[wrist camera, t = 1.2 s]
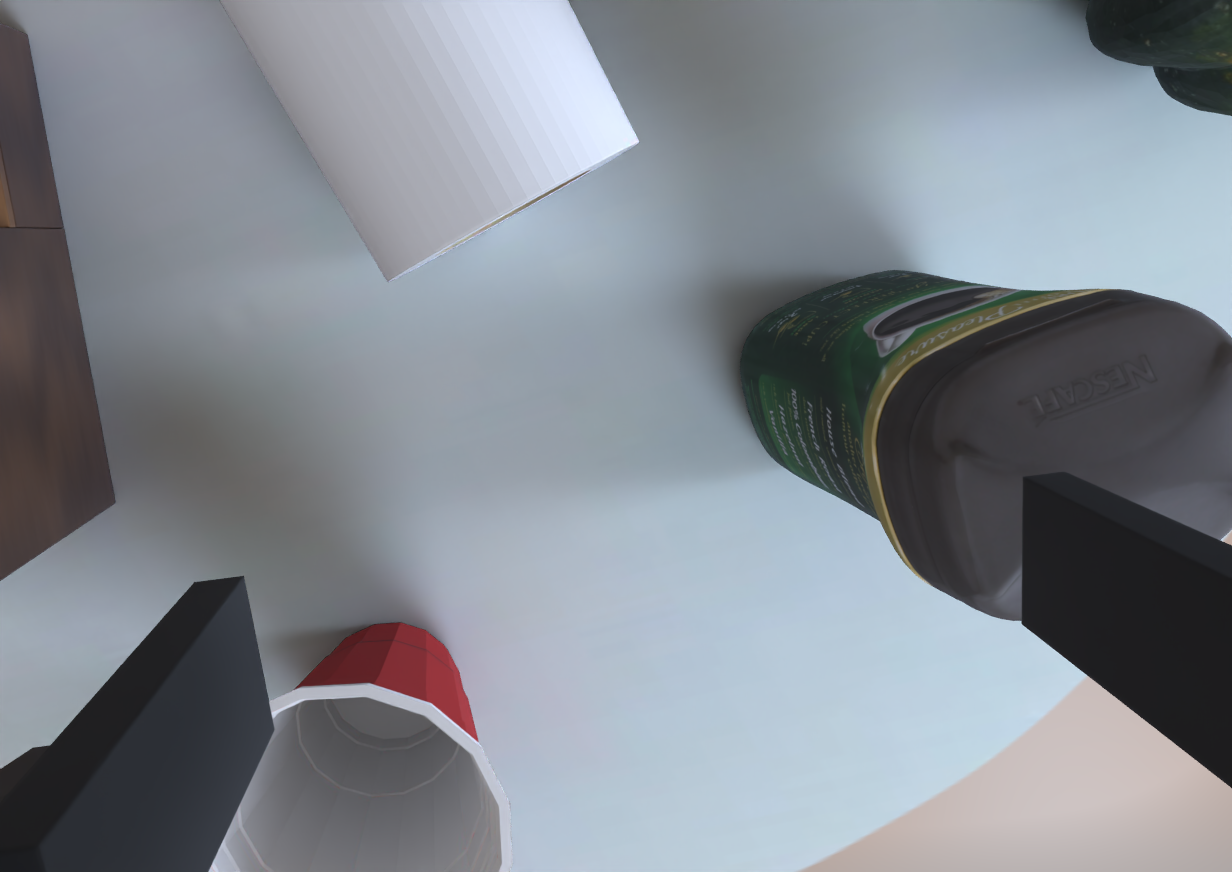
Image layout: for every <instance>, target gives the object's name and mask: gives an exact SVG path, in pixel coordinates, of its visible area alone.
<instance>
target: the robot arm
mask: <svg viewBox="0 0 1232 872" xmlns="http://www.w3.org/2000/svg"><path fill="white" fill-rule="evenodd" d="M1022 625H1024V626H1025V627H1026V628H1027V629H1029V630H1030V631H1031V632H1033V633H1034V634H1035V635H1036V636H1038V637H1039V638H1040V639H1042V640H1043V641H1044V642H1045V643H1047V644H1048V645H1049V646H1051V647H1052V648H1053V649H1054V650H1056V651H1057V652H1058V653H1059V654H1061V655H1062V656H1063V657H1065V658H1066V659H1067V660H1068V661H1070V662H1071V663H1072V664H1074V665H1075V666H1076V667H1077V668H1079V669H1080V670H1081V671H1083V672H1084V673H1085V674H1086V675H1088V676H1089V677H1090V678H1092V679H1093V680H1094V681H1096V682H1097V683H1098V684H1099V685H1101V686H1102V687H1103V688H1104V689H1106V690H1107V691H1108V692H1109V693H1111V694H1112V695H1113V696H1115V697H1116V698H1117V699H1118V700H1120V701H1121V702H1122V703H1124V704H1125V705H1126V706H1127V707H1129V708H1130V709H1131V710H1133V711H1134V712H1135V713H1136V714H1138V715H1139V716H1140V717H1141V718H1143V719H1144V720H1145V721H1147V722H1148V723H1149V724H1151V725H1152V726H1153V727H1154V728H1156V729H1157V730H1158V731H1159V732H1161V733H1162V734H1163V735H1165V736H1166V737H1167V738H1168V739H1170V740H1171V741H1172V742H1174V743H1175V744H1176V745H1177V746H1179V747H1180V748H1181V749H1182V750H1184V751H1185V752H1186V753H1188V754H1189V755H1190V756H1192V757H1193V758H1194V759H1195V760H1197V761H1198V762H1199V763H1200V764H1202V765H1203V766H1204V767H1206V768H1207V769H1208V770H1209V771H1211V772H1212V773H1213V774H1215V775H1216V776H1217V777H1218V778H1220V779H1221V780H1222V781H1224V782H1225V783H1226V784H1227V785H1229V786H1230V787H1231V788H1232V546H1231V545H1229V544H1227V543H1225V542H1222V541H1220V540H1218V539H1216V538H1213V537H1211V536H1209V535H1207V534H1204V533H1202V532H1200V531H1198V530H1195V529H1193V528H1191V527H1189V526H1186V525H1184V524H1182V523H1180V522H1177V521H1175V520H1173V519H1171V518H1168V517H1166V516H1164V515H1162V514H1159V513H1157V512H1155V511H1153V510H1150V509H1148V508H1146V507H1144V506H1141V505H1139V504H1137V503H1135V502H1132V501H1130V500H1128V499H1126V498H1123V497H1121V496H1119V495H1117V494H1114V493H1112V492H1110V491H1108V490H1105V489H1103V488H1101V487H1099V486H1097V485H1094V484H1092V483H1090V482H1088V481H1085V480H1083V479H1081V478H1079V477H1076V476H1074V475H1072V474H1070V473H1067V472H1065V471H1064V472H1056V473H1048V474H1040V475H1033V476H1025V477H1023V508H1022ZM274 730H275V729H274V724H273V719H272V714H271V709H270V704H269V699H268V694H267V689H266V684H265V679H264V674H263V669H262V664H261V659H260V654H259V649H258V644H257V639H256V634H255V630H254V625H253V620H252V615H251V610H250V605H249V600H248V595H247V590H246V585H245V580H244V576H240V577H232V578H224V579H216V580H208V581H201V582H194V583H193V585H192V586H191V587H190V588H189V589H188V590H187V591H186V593H185V594H184V595H183V596H182V597H181V598H180V599H179V600H178V602H177V603H176V604H175V605H174V606H173V607H172V608H171V609H170V611H169V612H168V613H167V614H166V615H165V616H164V617H163V619H162V620H161V621H160V622H159V623H158V624H157V625H156V626H155V628H154V629H153V630H152V631H151V632H150V633H149V634H148V636H147V637H146V638H145V639H144V640H143V641H142V642H141V643H140V645H139V646H138V647H137V648H136V649H135V650H134V651H133V652H132V654H131V655H130V656H129V657H128V658H127V659H126V660H125V662H124V663H123V664H122V665H121V666H120V667H119V668H118V669H117V671H116V672H115V673H114V674H113V675H112V676H111V677H110V679H109V680H108V681H107V682H106V683H105V684H104V685H103V686H102V688H101V689H100V690H99V691H98V692H97V693H96V694H95V696H94V697H93V698H92V699H91V700H90V701H89V702H88V703H87V705H86V706H85V707H84V708H83V709H82V710H81V711H80V712H79V714H78V715H77V716H76V717H75V718H74V719H73V720H72V722H71V723H70V724H69V725H68V726H67V727H66V728H65V729H64V731H63V732H62V733H61V734H60V735H59V736H58V737H57V739H56V740H55V741H54V742H53V743H52V744H51V745H50V746H42V747H35V748H32V749H30V750H29V751H27V752H26V753H24V754H23V755H21V756H20V757H18V758H17V759H15V760H14V761H12V762H11V763H9V764H8V765H6V766H5V767H3V768H2V769H0V872H209V870H210V868H211V865H212V863H213V861H214V859H215V857H216V855H217V853H218V850H219V848H220V846H221V844H222V842H223V840H224V838H225V835H226V833H227V831H228V829H229V827H230V825H231V823H232V820H233V818H234V816H235V814H236V812H237V810H238V807H239V805H240V803H241V801H242V799H243V797H244V795H245V792H246V790H247V788H248V786H249V784H250V782H251V780H252V777H253V775H254V773H255V771H256V769H257V767H258V765H259V762H260V760H261V758H262V756H263V754H264V752H265V750H266V747H267V745H268V743H269V741H270V739H271V737H272V735H273V732H274Z"/></svg>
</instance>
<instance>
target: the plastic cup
mask: <svg viewBox="0 0 1232 872" xmlns="http://www.w3.org/2000/svg"><path fill="white" fill-rule="evenodd" d="M269 704H270V709H271V714H272V719H273V724H274V729H275V730H274V732H273V735H272V737H271V739H270V741H269V743H268V745H267V747H266V750H265V752H264V754H263V756H262V758H261V760H260V762H259V765H258V767H257V769H256V771H255V773H254V775H253V777H252V780H251V782H250V784H249V786H248V788H247V790H246V792H245V795H244V797H243V799H242V801H241V803H240V805H239V807H238V810H237V812H236V814H235V816H234V818H233V820H232V823H231V825H230V827H229V829H228V831H227V833H226V835H225V838H224V840H223V842H222V844H221V846H220V848H219V850H218V853H217V855H216V857H215V859H214V861H213V863H212V865H211V868H210V870H209V872H510V870H511V868H512V865H513V857H512V836H511V815H510V803H509V800H508V798H507V796H506V794H505V792H504V790H503V788H502V786H501V784H500V782H499V780H498V779H497V777H496V775H495V773H494V771H493V769H492V767H491V765H490V763H489V761H488V759H487V757H486V755H485V753H484V751H483V749H482V747H481V745H480V743H479V742H478V738H477V734H476V730H475V726H474V721H473V717H472V713H471V709H470V705H469V701H468V698H467V696H466V694H465V692H464V690H463V686H462V682H461V678H460V673H459V671H458V669H457V667H456V665H455V663H454V661H453V659H452V657H451V656H450V654H449V652H448V650H447V649H446V648H445V646H444V645H443V644H442V643H441V642H439V641H438V640H437V639H436V638H434V637H433V636H432V635H431V634H429V633H428V632H427V631H426V630H423V629H420V628H417V627H414V626H410V625H407V624H404V623H386V624H374V625H372V626H370V627H368V628H365V629H363V630H361V631H359V632H357V633H355V634H352V635H351V636H349V637H346V638H345V639H344V640H343V641H342V642H341V644H340V645H339V646H338V647H337V648H336V649H335V650H334V651H333V652H332V653H331V654H330V655H329V656H327V657H326V658H325V659H324V660H323V661H322V662H321V663H320V664H319V665H318V666H317V667H316V668H315V669H314V670H313V671H312V672H311V673H310V674H309V675H308V676H307V677H306V678H305V679H304V680H303V681H302V682H301V683H300V684H299V685H298V686H297V687H296V688H295V689H294V690H293V691H291V692H289V693H286V694H284V695H282V696H280V697H278V698H275V699H273V700H271V701H269Z"/></svg>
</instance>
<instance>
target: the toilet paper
mask: <svg viewBox="0 0 1232 872" xmlns="http://www.w3.org/2000/svg"><path fill="white" fill-rule="evenodd" d="M220 2H221V4H222V6H223V7H224V9H225V11H226V12H227V14H228V16H229V17H230V19H231V21H232V22H233V24H234V26H235V27H236V29H237V31H238V32H239V34H240V36H241V37H242V39H243V41H244V42H245V44H246V46H247V47H248V49H249V51H250V53H251V54H252V56H253V58H254V59H255V61H256V63H257V64H258V66H259V68H260V69H261V71H262V73H263V74H264V76H265V78H266V79H267V81H268V83H269V84H270V86H271V88H272V89H273V91H274V93H275V94H276V96H277V98H278V99H279V101H280V103H281V104H282V106H283V108H284V109H285V111H286V113H287V114H288V116H289V118H290V119H291V121H292V123H293V125H294V126H295V128H296V130H297V131H298V133H299V135H300V136H301V138H302V140H303V141H304V143H305V145H306V146H307V148H308V150H309V151H310V153H311V155H312V156H313V158H314V160H315V161H316V163H317V165H318V166H319V168H320V170H321V171H322V173H323V175H324V176H325V178H326V180H327V181H328V183H329V185H330V186H331V188H332V190H333V191H334V193H335V195H336V197H337V198H338V200H339V202H340V203H341V205H342V207H343V208H344V210H345V212H346V213H347V215H348V217H349V218H350V220H351V222H352V223H353V225H354V227H355V228H356V230H357V232H358V233H359V235H360V237H361V238H362V240H363V242H364V243H365V245H366V247H367V248H368V250H369V252H370V253H371V255H372V257H373V258H374V260H375V262H376V263H377V265H378V267H379V269H380V270H381V272H382V274H383V275H384V277H385V279H386V280H387V282H390V281H393V280H395V279H397V278H399V277H401V276H403V275H405V274H407V273H409V272H411V271H412V270H414V269H416V268H418V267H420V266H422V265H424V264H426V263H428V262H430V261H431V260H433V259H435V258H437V257H439V256H441V255H443V254H444V253H446V252H448V251H450V250H452V249H454V248H456V247H457V246H459V245H461V244H463V243H465V242H467V241H468V240H470V239H472V238H474V237H476V236H478V235H479V234H481V233H483V232H485V231H487V230H489V229H490V228H492V227H494V226H496V225H498V224H499V223H501V222H503V221H505V220H507V219H508V218H510V217H512V216H514V215H516V214H517V213H519V212H521V211H523V210H525V209H526V208H528V207H530V206H532V205H534V204H535V203H537V202H539V201H541V200H542V199H544V198H546V197H548V196H550V195H551V194H553V193H555V192H557V191H558V190H560V189H562V188H564V187H565V186H567V185H569V184H571V183H572V182H574V181H576V180H578V179H579V178H581V177H583V176H585V175H586V174H588V173H590V172H592V171H593V170H595V169H597V168H599V167H600V166H602V165H604V164H605V163H607V162H609V161H611V160H612V159H614V158H616V157H617V156H619V155H621V154H622V153H624V152H626V151H627V150H629V149H630V148H632V147H634V146H635V145H637V144H638V143H639V140H638V138H637V136H636V134H635V132H634V130H633V128H632V126H631V124H630V122H629V120H628V118H627V116H626V114H625V112H624V111H623V109H622V107H621V105H620V103H619V101H618V99H617V97H616V95H615V93H614V91H613V89H612V87H611V85H610V83H609V81H608V79H607V77H606V75H605V73H604V71H603V69H602V67H601V65H600V63H599V61H598V59H597V57H596V55H595V53H594V51H593V49H592V47H591V45H590V43H589V41H588V39H587V37H586V35H585V33H584V31H583V29H582V27H581V25H580V23H579V21H578V19H577V17H576V15H575V13H574V11H573V9H572V7H571V5H570V3H569V1H568V0H220Z"/></svg>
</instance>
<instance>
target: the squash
mask: <svg viewBox="0 0 1232 872" xmlns="http://www.w3.org/2000/svg"><path fill="white" fill-rule="evenodd" d="M1086 22H1087V26H1088V31H1089V36H1090V40H1091V42H1092V43H1093V45H1094V46H1095V47H1096V48H1097V49H1098V50H1099V51H1101V52H1102V53H1104V54H1105V55H1107V56H1110V57H1112V58H1114V59H1117V60H1119V61H1124V62H1128V63H1133V64H1137V65H1143V66H1153V69H1154V72H1155V75H1156V77H1157V79H1158V81H1159V83H1160V84H1161V86H1162V88H1163V89H1164V91H1165V92H1166V93H1167V94H1168V95H1169V96H1170V97H1172V98H1173V99H1175V100H1177V101H1179V102H1181V103H1182V104H1184V105H1187V106H1189V107H1192V108H1195V109H1197V110H1201V111H1207V112H1213V113H1219V114H1224V115H1230V116H1232V0H1089V4H1088V8H1087V12H1086Z"/></svg>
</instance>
